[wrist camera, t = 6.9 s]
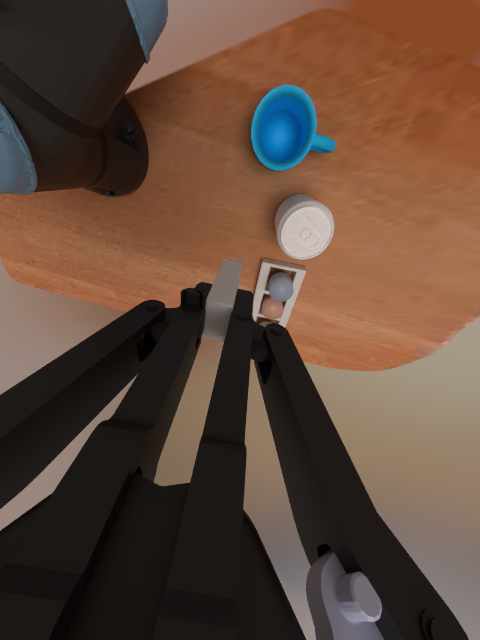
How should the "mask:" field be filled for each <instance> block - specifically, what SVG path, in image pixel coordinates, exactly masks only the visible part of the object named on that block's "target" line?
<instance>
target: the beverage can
mask: <svg viewBox="0 0 480 640" xmlns="http://www.w3.org/2000/svg"><path fill="white" fill-rule="evenodd" d="M275 229H276V234H277V240H278V243H279V246H280V248H281V249H282V251H283V252H284V253H285V254H287V255H288V256H290V257H292V258H295V259H309V258H312V257H315V256H317V255H318V254H320V253H321V252H322V251H323V250H324V249H325V248H326V247H327V246H328V244H329V243H330V241H331V239H332V236H333V232H334V219H333V216H332V214H331V212H330V210H329V209H328V208H327V207H326V206H325V205H323V204H322V203H320V202H318V201H316V200H314V199H313V198H311V197H309V196H307V195H301V194H299V195H294V196H291V197H289V198H287V199H286V200H285V201H284V202H283V203H282V204H281V205H280V206H279V208H278V210H277V212H276V215H275Z"/></svg>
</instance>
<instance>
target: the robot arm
mask: <svg viewBox="0 0 480 640" xmlns="http://www.w3.org/2000/svg"><path fill="white" fill-rule="evenodd" d="M167 16H168V4H167V0H0V193H7V194H20V195H28V194H31V193H33V192H42V191H53V190H64V189H74V188H85V189H88V190H90V191H93V192H95V193H98V194H101V195H104V196H111V197H116V196H123V195H127V194H130V193H132V192H134V191H135V190H136V189H138V187H139V186H140V185H141V184H142V182H143V180H144V178H145V176H146V173H147V168H148V147H147V141H146V137H145V134H144V131H143V128H142V126H141V124H140V121H139V119H138V117H137V116H136V114H135V112H134V111H133V109H132V108H131V106H130V105H129V104H128V102H127V101H126V100H125V99H124V98H123V96H124V94H125V92H126V91H127V89H128V88H129V86H130V84H131V83H132V81H133V80H134V78H135V77H136V75H137V74H138V72H139V70H140V69H141V67H142V66H143V64H144V62H145V63H146V64H147V63H148V62H149V59H150V52H151V50H152V49H153V47H154V45H155V43H156V41H157V40H158V38H159V36H160V34H161V33H162V31H163V29H164V27H165V24H166V21H167ZM242 265H243V262H240V261H236V260H231V259H226V258H224V261H223V263H222V265H221V267H220V270H219V272H218V274H217V276H216V279H215V281H214V283H213V284H209V283H204V282H201V283H199V284H197V285H196V287H195V288H186V289H183V290H182V291H181V305H180V306H179V307H178V308H165V304H164V303H163V302H161V301H157V300H148V301H144V302H142V303H140V304H139V305H137V306H136V307H134V308H133V309H131V310H130V311H128V312H127V313H125V314H124V315H122V316H121V317H119V318H118V319H116V320H114V321H113V322H111V323H110V324H108V325H107V326H105V327H104V328H102V329H101V330H99V331H98V332H96V333H94V334H93V335H91V336H90V337H88V338H87V339H85V340H84V341H82V342H81V343H79V344H78V345H76V346H75V347H73V348H71V349H70V350H69V351H67V352H65V353H64V354H62V355H61V356H59V357H58V358H56V359H55V360H53V361H52V362H50V363H49V364H47V365H45V366H44V367H42V368H41V369H39V370H38V371H36V372H35V373H33V374H32V375H30V376H29V377H27V378H26V379H24V380H23V381H21V382H19V383H18V384H16V385H15V386H13V387H12V388H10V389H9V390H7V391H6V392H4V393H3V394H1V395H0V509H1V508H2V507H3V506H4V505H6V504H7V503H8V502H9V501H10V500H12V499H13V498H14V497H15V496H16V495H17V494H18V493H20V492H21V491H22V490H23V489H24V488H25V487H26V486H27V485H28V484H30V482H32V481H33V480H34V479H35V478H36V477H37V476H38V475H39V474H40V473H41V472H42V471H43V470H44V469H45V468H46V467H47V466H48V465H49V464H50V463H51V462H52V461H53V460H54V459H55V458H56V457H57V455H59V454H60V453H61V452H62V451H63V450H64V449H65V448H66V447H67V445H68V444H69V443H70V442H71V441H72V440H73V439H74V438H75V437H76V436H77V435H78V434H79V433H80V432H81V431H82V430H83V429H84V428H85V427H86V426H87V425H88V424H89V423H90V422H91V421H92V420H93V419H94V418H95V417H96V416H97V415H98V414H99V413H100V412H101V411H102V410H103V409H104V408H105V406H107V405H108V404H109V403H110V402H111V401H112V399H114V397H116V395H117V394H118V393H119V392H120V391H121V390H122V389H123V388H124V387H125V386H126V385H127V384H128V383H129V382H130V381H131V380H132V379H133V378H134V377H135V376H136V375H137V374H138V373H139V374H138V375H137V377H136V379H135V380H134V382H133V383H132V385H131V387H130V388H129V390H128V392H127V393H126V395H125V397H124V398H123V400H122V401H121V403H120V405H119V406H118V408H117V410H116V411H115V413H114V415H113V416H112V417H111V418H110V419H109V420H106V421H102V422H101V423H100V424H99V425H97V427H96V428H95V430H94V431H93V432H92V434H91V435H90V437H89V438H88V440H87V441H86V443H85V444H84V446H83V447H82V449H81V451H80V452H79V454H78V455H77V457H76V458H75V460H74V461H73V463H72V464H71V466H70V467H69V469H68V470H67V472H66V474H65V475H64V477H63V479H62V480H61V481H60V483H59V484H58V486H57V487H56V489H55V491H54V492H53V493H52V494H51V495H49V496H48V497H46V498H45V499H43V500H42V501H41V502H39V503H38V504H37V505H35V506H34V507H32V508H31V509H30V510H28V511H27V512H26V513H24V514H23V515H21V516H20V517H19V518H17V519H16V520H14V521H13V522H12V523H10V524H9V525H8V526H6V527H5V528H3V529H2V530H1V531H0V640H306V638H305V636H304V634H303V631H302V629H301V627H300V625H299V623H298V621H297V618H296V616H295V614H294V612H293V609H292V607H291V605H290V603H289V601H288V599H287V596H286V594H285V592H284V589H283V587H282V585H281V583H280V581H279V578H278V576H277V574H276V572H275V570H274V567H273V565H272V563H271V561H270V559H269V556H268V555H267V552H266V550H265V547H264V545H263V543H262V541H261V539H260V537H259V534H258V532H257V530H256V528H255V526H254V525H253V523H252V521H251V519H250V518H249V516H248V515H247V514H246V512H245V511H244V510H243V502H244V501H243V500H244V486H245V470H246V446H245V427H246V426H245V425H246V412H247V399H248V386H249V373H250V359H253V360H254V361H255V362H254V364H255V367H256V371H257V375H258V379H259V383H260V387H261V391H262V395H263V399H264V403H265V406H266V411H267V414H268V419H269V423H270V426H271V430H272V434H273V438H274V442H275V446H276V450H277V454H278V458H279V462H280V466H281V470H282V474H283V478H284V482H285V486H286V489H287V493H288V497H289V501H290V505H291V509H292V513H293V517H294V520H295V524H296V527H297V530H298V534H299V537H300V540H301V543H302V545H303V548H304V550H305V553H306V556H307V558H308V561H309V563H310V565H311V568H310V570H309V573H308V576H307V582H306V593H307V601H308V605H309V608H310V612H311V615H312V619H313V622H314V626H315V633H316V640H469V639H468V637H467V635H466V633H465V632H464V630H463V628H462V627H461V625H460V624H459V622H458V621H457V619H456V617H455V616H454V614H453V613H452V612H451V610H450V609H449V607H448V606H447V605H446V604H445V602H444V601H443V600H442V598H441V597H440V596H439V594H438V593H437V592H436V590H435V589H434V588H433V586H432V585H431V584H430V582H429V581H428V580H427V578H426V577H425V576H424V574H423V573H422V572H421V570H420V569H419V568H418V566H417V565H416V564H415V562H414V561H413V560H412V558H411V557H410V556H409V554H408V553H407V552H406V550H405V549H404V548H403V546H402V545H401V544H400V542H399V541H398V540H397V538H396V537H395V536H394V534H393V533H392V532H391V530H390V529H389V528H388V526H387V525H386V524H385V522H384V521H383V520H382V519H381V517H380V516H379V514H378V513H377V512H376V509H375V508H374V505H373V503H372V501H371V499H370V497H369V495H368V493H367V491H366V489H365V487H364V485H363V483H362V481H361V479H360V477H359V475H358V473H357V471H356V469H355V467H354V465H353V463H352V461H351V459H350V457H349V454H348V453H347V450H346V449H345V446H344V444H343V442H342V440H341V438H340V437H339V434H338V432H337V430H336V428H335V426H334V424H333V422H332V420H331V418H330V416H329V414H328V412H327V410H326V408H325V406H324V404H323V402H322V400H321V398H320V395H319V393H318V391H317V389H316V387H315V385H314V383H313V381H312V379H311V377H310V375H309V373H308V371H307V369H306V367H305V365H304V363H303V361H302V359H301V357H300V355H299V353H298V351H297V349H296V347H295V345H294V343H293V340H292V338H291V336H290V334H289V332H288V331H287V329H286V328H285V327H283V326H282V325H279V324H275V323H270V324H267V325H266V326H265V327H264V326H262V325H260V324H258V323H257V322H255V321H254V319H253V316H252V314H253V300H254V295H253V294H252V292H251V291H246V290H241V289H238V286H239V281H240V275H241V270H242ZM202 334H203V337H204V338H209V339H214V340H219V341H224V345H223V349H222V353H221V358H220V362H219V366H218V370H217V375H216V379H215V383H214V387H213V392H212V396H211V400H210V405H209V409H208V413H207V417H206V422H205V426H204V430H203V435H202V437H201V440H200V444H199V448H198V452H197V456H196V461H195V465H194V469H193V473H192V477H191V482H190V483H185V484H177V485H171V486H159V485H157V484H155V483H154V478H155V475H156V469H157V465H158V461H159V458H160V455H161V452H162V449H163V447H164V444H165V441H166V438H167V435H168V433H169V430H170V427H171V424H172V422H173V418H174V416H175V413H176V411H177V408H178V405H179V402H180V399H181V396H182V394H183V391H184V388H185V385H186V382H187V380H188V377H189V374H190V371H191V369H192V366H193V363H194V360H195V358H196V355H197V352H198V349H199V346H200V344H201V336H202Z"/></svg>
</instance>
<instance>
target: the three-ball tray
mask: <svg viewBox="0 0 480 640" xmlns="http://www.w3.org/2000/svg"><path fill="white" fill-rule="evenodd" d="M270 267H275V268H280V269H284V270H289V271H294V273H293V276H292V279H291V280H292V284H293V289H294V292H293V295H292V296H291V298H290V299H288V300H286V301H284V302H283V314H282V316H281V317H279V318H278V319H274V320H277V323H276V324H279V325H282V326H283V327H286V324H287V322H288V319H289V316H290V314H291V311H292V308H293V306H294V303H295V300H296V298H297V295H298V292H299V290H300V287H301V284H302V282H303V279H304V276H305V274H306V269H305V266H300V265H295V264H290V263H285V262H280V261H275V260H270V259H265V258H263V259H262V263H261V267H260V272H259V276H258V280H257V284H256V288H255V293H254V300H253V314H252V316H253V319H254V321H255V322H256V320H257V316H258V317H263V318H266V317H265V316H264V315H263V313H262V309H261V308H260V305H261V301H262V297H263V294H269V286H266V282H267V279H268V275H269V271H270ZM269 295H270V294H269Z"/></svg>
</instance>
